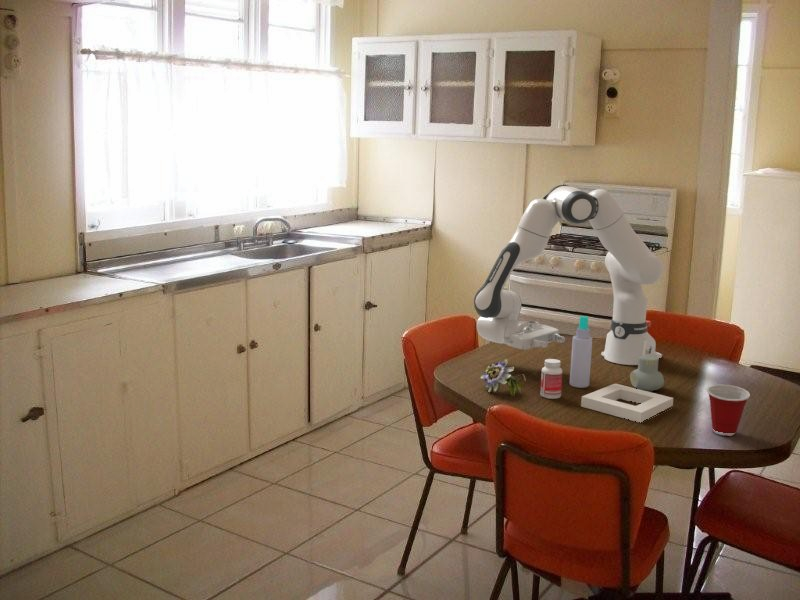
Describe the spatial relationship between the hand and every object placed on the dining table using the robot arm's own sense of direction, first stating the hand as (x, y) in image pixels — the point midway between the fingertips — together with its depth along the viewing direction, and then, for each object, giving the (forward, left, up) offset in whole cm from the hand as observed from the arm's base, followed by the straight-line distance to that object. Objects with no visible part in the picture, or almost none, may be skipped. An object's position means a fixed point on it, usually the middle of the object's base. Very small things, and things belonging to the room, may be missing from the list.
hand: (555, 342), depth 278 cm
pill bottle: (+16, +10, -12) cm, 22 cm away
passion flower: (+23, -3, -12) cm, 26 cm away
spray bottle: (0, +10, -12) cm, 16 cm away
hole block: (+8, +31, -12) cm, 34 cm away
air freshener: (-13, +26, -12) cm, 31 cm away
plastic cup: (+8, +60, -12) cm, 62 cm away
